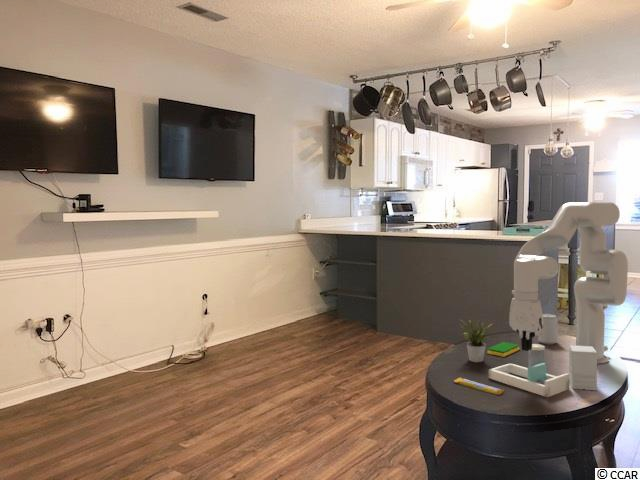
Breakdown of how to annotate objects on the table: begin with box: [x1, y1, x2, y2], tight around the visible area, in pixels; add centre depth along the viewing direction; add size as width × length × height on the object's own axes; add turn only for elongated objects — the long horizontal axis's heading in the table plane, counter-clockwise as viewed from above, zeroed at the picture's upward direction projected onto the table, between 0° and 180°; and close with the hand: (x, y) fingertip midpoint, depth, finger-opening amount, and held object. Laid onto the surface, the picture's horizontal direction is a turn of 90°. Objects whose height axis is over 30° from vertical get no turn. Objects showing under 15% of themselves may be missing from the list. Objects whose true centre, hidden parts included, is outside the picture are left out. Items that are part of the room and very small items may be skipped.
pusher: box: [527, 362, 547, 385], centre depth 168 cm, size 8×5×7 cm, turn 124°
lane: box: [488, 362, 570, 398], centre depth 172 cm, size 12×22×5 cm, turn 34°
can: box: [537, 313, 559, 345], centre depth 221 cm, size 8×8×12 cm
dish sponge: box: [487, 341, 520, 358], centre depth 209 cm, size 7×14×2 cm, turn 134°
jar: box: [528, 343, 546, 367], centre depth 185 cm, size 5×5×9 cm
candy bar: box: [453, 376, 505, 396], centre depth 169 cm, size 17×4×2 cm, turn 41°
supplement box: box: [568, 344, 598, 391], centre depth 169 cm, size 7×7×13 cm
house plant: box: [457, 318, 494, 363], centre depth 198 cm, size 14×14×16 cm
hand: (526, 349), depth 173 cm, fingers closed
